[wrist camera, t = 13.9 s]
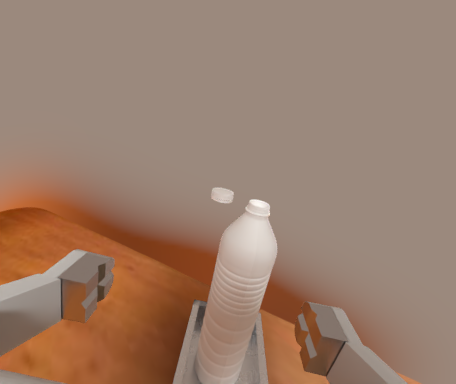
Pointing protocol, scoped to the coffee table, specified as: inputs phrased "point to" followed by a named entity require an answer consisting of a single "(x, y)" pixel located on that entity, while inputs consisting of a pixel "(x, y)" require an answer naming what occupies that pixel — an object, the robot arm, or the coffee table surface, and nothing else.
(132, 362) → the coffee table surface
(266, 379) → the keeper cradle
